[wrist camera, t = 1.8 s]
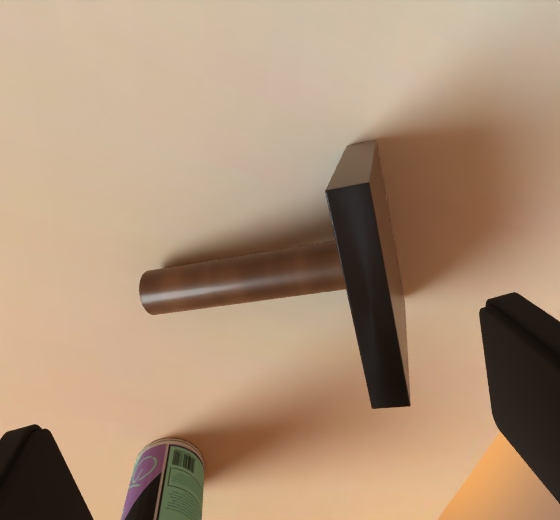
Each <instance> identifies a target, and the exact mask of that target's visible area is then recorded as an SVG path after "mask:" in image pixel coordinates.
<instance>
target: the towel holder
mask: <svg viewBox="0 0 560 520" xmlns="http://www.w3.org/2000/svg"><path fill="white" fill-rule="evenodd" d="M325 193H326V198H327V202H328V207H329V211H330V216H331V221H332V225H333V230H334V235H335V239H336V240H335V241H329V242H323V243H316V244H310V245H304V246H298V247H292V248H286V249H280V250H273V251H267V252H261V253H255V254H249V255H243V256H236V257H230V258H224V259H218V260H212V261H206V262H199V263H193V264H187V265H181V266H175V267H169V268H162V269H156V270H150V271H146V272H145V273H144V274H143V275H142V277H141V280H140V285H139V293H140V299H141V302H142V305H143V307H144V308H145V310H146V311H147V312H148V313H149V314H152V315H157V314H165V313H172V312H180V311H187V310H195V309H202V308H210V307H217V306H225V305H232V304H239V303H247V302H254V301H262V300H269V299H277V298H284V297H292V296H299V295H306V294H314V293H321V292H329V291H336V290H344V289H346V290H347V295H348V300H349V304H350V309H351V313H352V318H353V323H354V327H355V332H356V337H357V341H358V346H359V351H360V355H361V360H362V364H363V369H364V374H365V378H366V383H367V388H368V392H369V397H370V401H371V406H372V409H376V408H391V407H406V406H410V405H411V404H410V386H409V368H408V350H407V332H406V314H405V300H404V294H403V288H402V282H401V277H400V271H399V265H398V260H397V254H396V248H395V242H394V237H393V231H392V225H391V219H390V214H389V208H388V202H387V197H386V191H385V185H384V179H383V174H382V168H381V162H380V156H379V151H378V145H377V140H372V141H368V142H363V143H358V144H354V145H349V146H347V147H346V149H345V151H344V153H343V155H342V157H341V159H340V161H339V163H338V165H337V168H336V170H335V172H334V174H333V176H332V178H331V180H330V182H329V184H328V186H327V188H326V190H325Z"/></svg>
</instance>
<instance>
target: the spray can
mask: <svg viewBox="0 0 560 520" xmlns="http://www.w3.org/2000/svg"><path fill="white" fill-rule="evenodd" d="M203 487H204V460H203V457H202V455H201V453H200V451H199V450H198V449H197V448H196V447H195V446H193V445H192V444H191V443H189V442H187V441H184V440H181V439H175V438H165V439H160V440H157V441H154V442H152V443H150V444H149V445H147V446H146V447H145V448H144V449H142V451H141V452H140V453H139V455H138V457H137V459H136V462H135V465H134V469H133V473H132V477H131V481H130V485H129V489H128V493H127V497H126V501H125V505H124V509H123V513H122V517H121V520H202V503H203Z"/></svg>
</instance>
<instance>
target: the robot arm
mask: <svg viewBox="0 0 560 520" xmlns="http://www.w3.org/2000/svg"><path fill="white" fill-rule="evenodd" d="M479 317H480V324H481V332H482V340H483V347H484V355H485V363H486V370H487V378H488V385H489V393H490V401H491V408H492V414H493V418H494V421H495V423H496V425H497V427H498V429H499V430H500V431H501V433H502V434H503V435H504V436H505V437H506V439H507V440H508V441H509V442H510V444H511V445H512V446H513V447H514V448H515V450H516V451H517V452H518V453H519V455H520V456H521V457H522V458H523V459H524V461H525V462H526V463H527V464H528V466H529V467H530V468H531V469H532V471H533V472H534V473H535V474H536V475H537V477H538V478H539V479H540V480H541V482H542V483H543V484H544V485H545V486H546V488H547V489H548V490H549V491H550V493H551V494H552V495H553V496H554V497H555V498H556V500H557V501H558V502H559V504H560V321H558V320H557V319H555V318H554V317H552V316H551V315H549V314H548V313H546V312H545V311H543V310H542V309H540V308H539V307H537V306H536V305H534V304H533V303H531V302H530V301H528V300H527V299H525V298H524V297H522V296H521V295H519V294H518V293H515V292H514V293H509V294H506V295H502V296H499V297H495V298H491V299H488V300H487V301H486V307H484V308H481V309H480V312H479ZM0 520H93V518H92V515H91V513H90V511H89V509H88V507H87V505H86V503H85V501H84V499H83V497H82V495H81V493H80V491H79V489H78V487H77V485H76V483H75V481H74V479H73V477H72V474H71V472H70V470H69V468H68V466H67V464H66V462H65V460H64V458H63V456H62V454H61V452H60V450H59V448H58V446H57V444H56V442H55V440H54V438H53V436H52V434H51V432H50V431H49V430H48V429H42V428H41V427H40V426H38V425H35V424H34V425H30V426H27V427H23V428H19V429H16V430H12V431H9V432H6V433H5V434H4V435H3V436H2V438H1V439H0Z"/></svg>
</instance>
